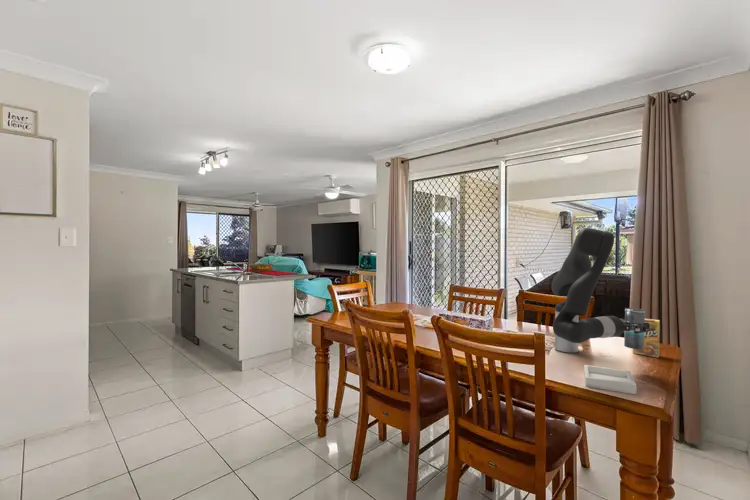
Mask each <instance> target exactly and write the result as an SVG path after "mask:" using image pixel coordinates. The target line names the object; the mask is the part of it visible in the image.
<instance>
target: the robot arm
mask: <svg viewBox="0 0 750 500" xmlns="http://www.w3.org/2000/svg"><path fill="white" fill-rule="evenodd" d="M614 244H615V236H614V234H613V233H612V232H609V231H605V230H600V229H596V228H592V227H583V228H581V229H580V230H579V231H578V233H577V235H576V237H575V239H574V242H573V245H572V246H571V249H570V251H569V253H568V254H567V257H566V258H565V260H564V262H563V263H562V266H561V268H560V269H559V271H558V272H557V273H556V274H555V276H554V277H553V279H552V282H551V291H552V293H553V295H554V296H557V297H566V298H565V301H562V302H559V303H557V304H555V309H554V310H555V311H554V313H555V314H554V315H555V318H554V321H553V322H552V323H553V324H552V330H553V333H554V351H558V352H564V353H570V354H571V353H574V354H575V353H577V352H579V344H581V343H584V342H586V341H589V340H591V339H605V338H606V339H607V338H615V337H620V336H622V334H623V333H625V332H634V333H636V334H637V333H643V332H646V329H649V326H650V325H649V323H635V322H629V321H625V318H619V317H618V316H615V315H603V316H596V317H589V318H588V317H587V318H582V319H580V318H579V317H580V316H585V315H586V314H587V312H588V309H589V305H590V302H591V299H592V296H593V293H594V291H595V288H596V286H597V283H598V281H599V279H600V277H601V275H602V273H603V272H604V271H603V270H604V269H605V266H606V264H607V262H608V260H609V258H610V256H611V253H612V249H613V247H614ZM589 256H590V257H594V258H596V259H595V260H594V262H593V265H592V262H591V261H592V260H591V259H590V257H589ZM631 324H632V327H631Z"/></svg>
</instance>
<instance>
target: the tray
mask: <svg viewBox="0 0 750 500" xmlns="http://www.w3.org/2000/svg"><path fill="white" fill-rule="evenodd" d="M583 368H584V371H583V375H584V382H585V387H588V388H593V389H594V388H595V389H600V390H606V391H614V392H619V393H623V394H624V393H625V394H631V395H637V383H636V380H635V379H634V377H633V375H632V372H631V370H625V369H619V368H612V367H605V366H604V367H603V366H596V365H590V364H589V365H588V364H584V365H583Z"/></svg>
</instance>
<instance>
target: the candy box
mask: <svg viewBox="0 0 750 500" xmlns="http://www.w3.org/2000/svg"><path fill="white" fill-rule="evenodd" d="M660 321H661V320H660V319H656V318H655V319H654V318H653V319H652V318H646V317H645V323H649V325H650V326H649V329H646V332H644V349H632V354H636V355H642V356H648V357H653V358H659V356H660V331H661V330H660V328H661V327H660V326H661V325H660V323H661V322H660Z"/></svg>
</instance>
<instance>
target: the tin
mask: <svg viewBox="0 0 750 500" xmlns="http://www.w3.org/2000/svg"><path fill="white" fill-rule="evenodd" d="M645 318H646V310H645V309H642V308H633V307H625V308H624V319H625V321H629V322H635V323H645ZM631 327H632V324H631ZM623 333H624V334H623V335H624V337H623V339H624V340H623V341H624V342H623V345H624V347H626V348H628V349H632V350H633V349H644V332H643V333H637V334H636V333H634V332H623Z"/></svg>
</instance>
